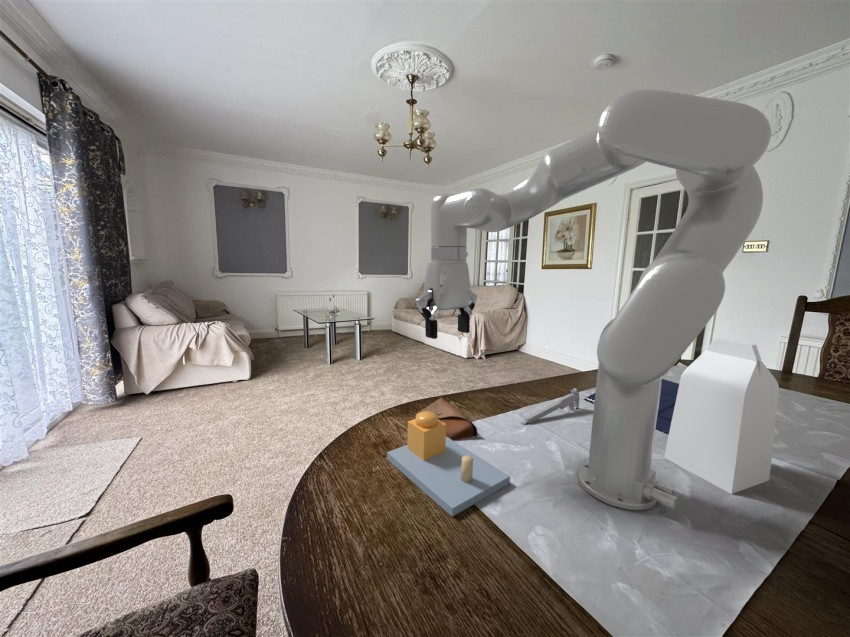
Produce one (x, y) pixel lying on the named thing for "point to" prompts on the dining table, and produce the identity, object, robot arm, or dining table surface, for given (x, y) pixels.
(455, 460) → the board
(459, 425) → the sunglasses case
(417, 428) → the cube with ball knob
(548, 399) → the dining table surface
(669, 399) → the folded navy cloth
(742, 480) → the milk
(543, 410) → the caliper
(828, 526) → the dining table surface
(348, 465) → the dining table surface
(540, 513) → the dining table surface
